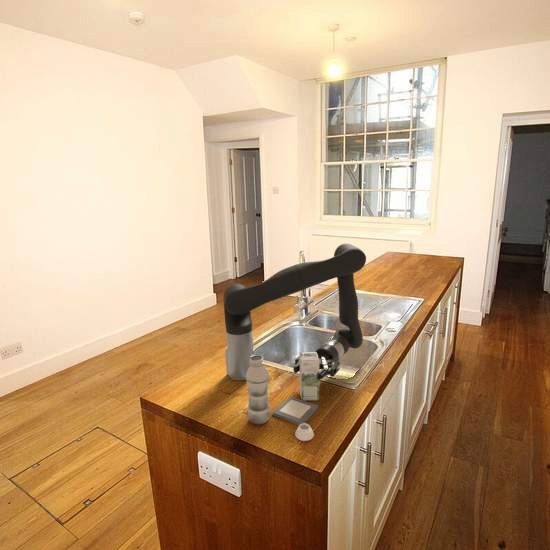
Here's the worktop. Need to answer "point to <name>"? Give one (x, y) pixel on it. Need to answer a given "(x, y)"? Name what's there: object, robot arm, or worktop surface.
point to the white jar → (304, 432)
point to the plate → (295, 410)
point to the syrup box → (309, 376)
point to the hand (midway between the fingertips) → (306, 373)
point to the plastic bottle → (258, 391)
